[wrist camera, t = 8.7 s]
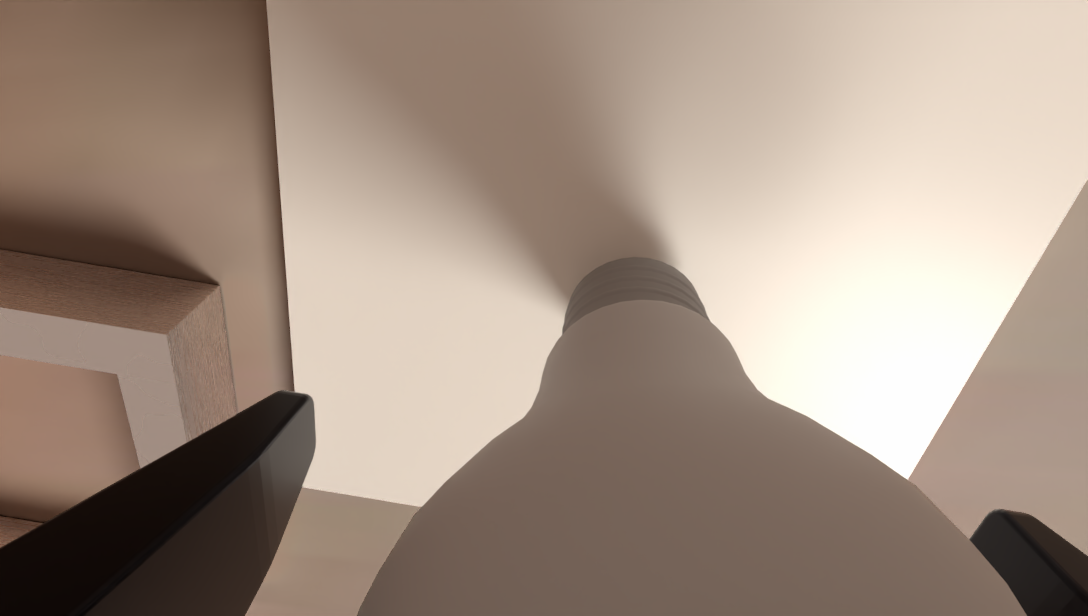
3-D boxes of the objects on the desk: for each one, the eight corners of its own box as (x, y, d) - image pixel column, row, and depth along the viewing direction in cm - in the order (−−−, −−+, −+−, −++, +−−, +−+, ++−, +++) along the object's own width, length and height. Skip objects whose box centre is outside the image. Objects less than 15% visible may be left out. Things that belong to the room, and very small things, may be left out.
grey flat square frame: (259, 584, 19) (226, 648, 18) (-81, 528, 19) (-147, 586, 18) (219, 285, 14) (165, 334, 12) (-248, 208, 14) (-366, 246, 12)
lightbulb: (779, 104, 11) (2149, 1443, 1) (801, 391, 14) (1268, 1440, 4) (435, 185, 12) (-189, 1215, 2) (523, 434, 15) (400, 1336, 5)
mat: (841, 557, 17) (848, 577, 16) (310, 470, 17) (301, 487, 16) (1191, -51, 10) (1224, -51, 9) (270, -203, 10) (251, -211, 9)
